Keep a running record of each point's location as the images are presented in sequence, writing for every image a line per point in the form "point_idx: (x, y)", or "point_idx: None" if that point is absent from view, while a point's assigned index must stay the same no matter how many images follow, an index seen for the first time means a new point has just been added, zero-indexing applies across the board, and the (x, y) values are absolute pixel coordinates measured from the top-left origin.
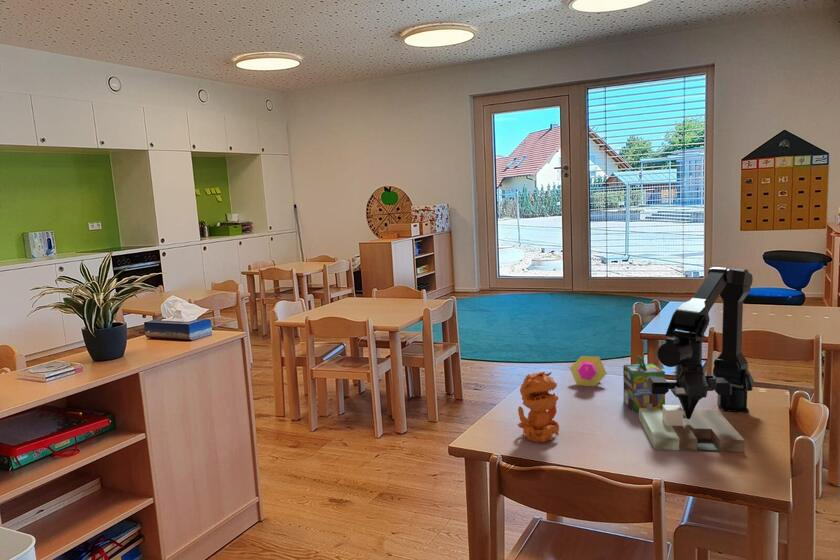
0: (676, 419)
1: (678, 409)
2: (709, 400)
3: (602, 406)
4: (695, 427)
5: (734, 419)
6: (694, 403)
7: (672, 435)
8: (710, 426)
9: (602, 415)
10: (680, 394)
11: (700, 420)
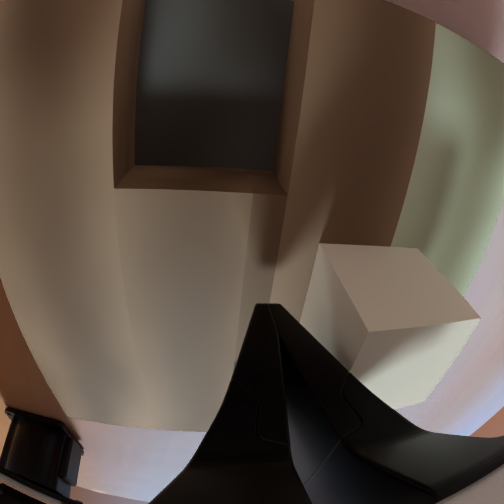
0: (381, 272)
1: (392, 348)
2: (103, 463)
3: (410, 421)
4: (232, 213)
5: (28, 379)
6: (248, 423)
7: (456, 79)
8: (109, 237)
9: (451, 376)
10: (487, 480)
11: (157, 332)
